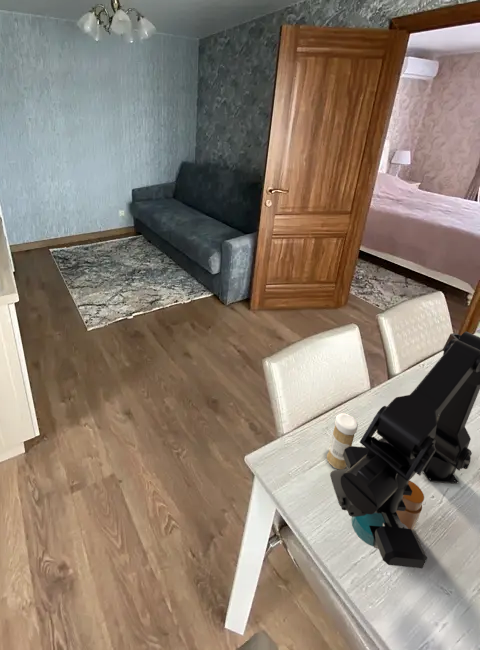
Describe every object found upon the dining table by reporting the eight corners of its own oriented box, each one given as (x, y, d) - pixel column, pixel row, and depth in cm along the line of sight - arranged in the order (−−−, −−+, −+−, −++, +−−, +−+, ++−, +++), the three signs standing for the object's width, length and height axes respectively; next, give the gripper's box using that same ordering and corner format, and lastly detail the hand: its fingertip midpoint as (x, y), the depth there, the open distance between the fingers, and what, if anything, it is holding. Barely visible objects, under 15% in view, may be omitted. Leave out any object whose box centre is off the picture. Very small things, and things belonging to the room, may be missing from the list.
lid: (357, 544, 62) (361, 535, 61) (346, 508, 68) (349, 499, 67) (393, 549, 62) (397, 539, 61) (378, 512, 67) (382, 503, 66)
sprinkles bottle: (350, 463, 83) (362, 423, 78) (339, 473, 81) (350, 432, 76) (333, 448, 87) (343, 409, 82) (322, 458, 84) (332, 418, 79)
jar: (403, 511, 73) (416, 478, 69) (416, 540, 69) (432, 506, 65) (377, 509, 74) (389, 476, 70) (389, 537, 69) (403, 503, 65)
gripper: (323, 421, 68) (311, 474, 74) (362, 528, 51) (342, 586, 57) (382, 426, 67) (365, 479, 73) (442, 536, 50) (413, 594, 56)
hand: (369, 527), depth 65 cm, fingers closed on lid, 6 cm apart
